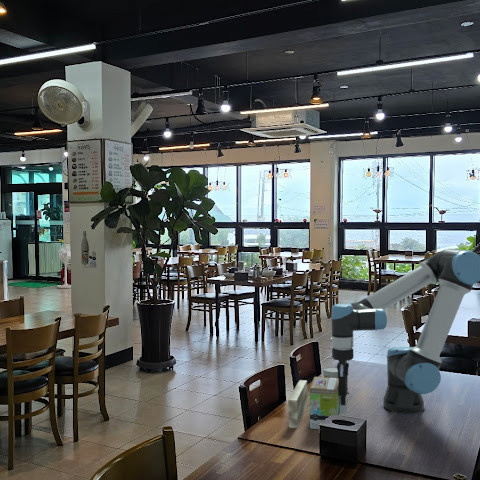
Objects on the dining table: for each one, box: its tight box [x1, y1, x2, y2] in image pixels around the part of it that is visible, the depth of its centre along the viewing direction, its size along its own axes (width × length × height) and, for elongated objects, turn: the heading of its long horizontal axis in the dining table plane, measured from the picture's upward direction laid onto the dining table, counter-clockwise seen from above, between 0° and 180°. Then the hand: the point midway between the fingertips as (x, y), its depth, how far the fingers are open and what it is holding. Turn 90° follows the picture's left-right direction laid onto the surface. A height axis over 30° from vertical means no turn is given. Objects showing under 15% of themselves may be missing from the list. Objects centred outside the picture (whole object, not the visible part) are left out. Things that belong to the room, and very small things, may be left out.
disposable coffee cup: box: [322, 365, 338, 378], centre depth 226 cm, size 10×10×12 cm
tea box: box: [309, 376, 341, 430], centre depth 199 cm, size 15×10×15 cm, turn 166°
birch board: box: [287, 379, 308, 429], centre depth 207 cm, size 3×24×10 cm, turn 164°
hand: (343, 412), depth 197 cm, fingers closed
